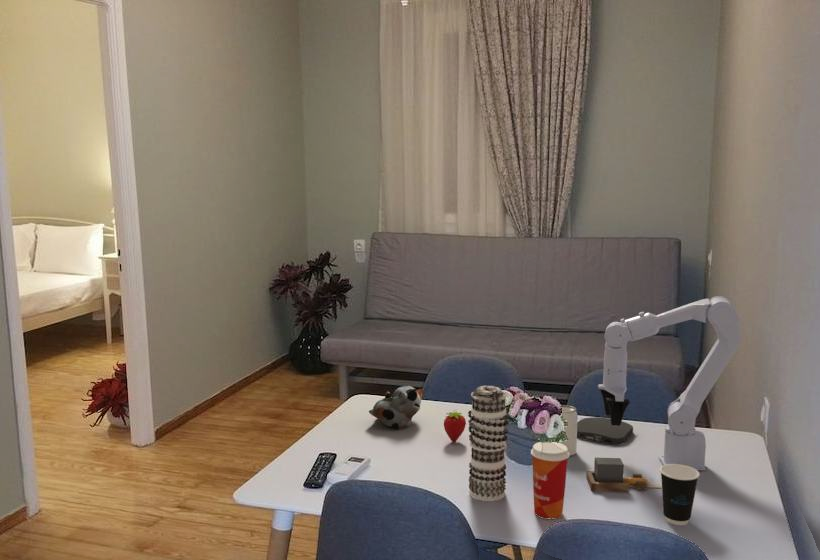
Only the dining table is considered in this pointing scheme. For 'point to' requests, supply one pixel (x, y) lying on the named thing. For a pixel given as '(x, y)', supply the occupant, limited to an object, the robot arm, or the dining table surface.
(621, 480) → the grey block with handle
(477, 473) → the decorative candle
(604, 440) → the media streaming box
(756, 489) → the dining table surface
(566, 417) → the can
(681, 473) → the dixie cup
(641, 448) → the dining table surface
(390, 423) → the lucky cat figurine
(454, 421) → the strawberry
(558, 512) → the coffee cup
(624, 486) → the holder
